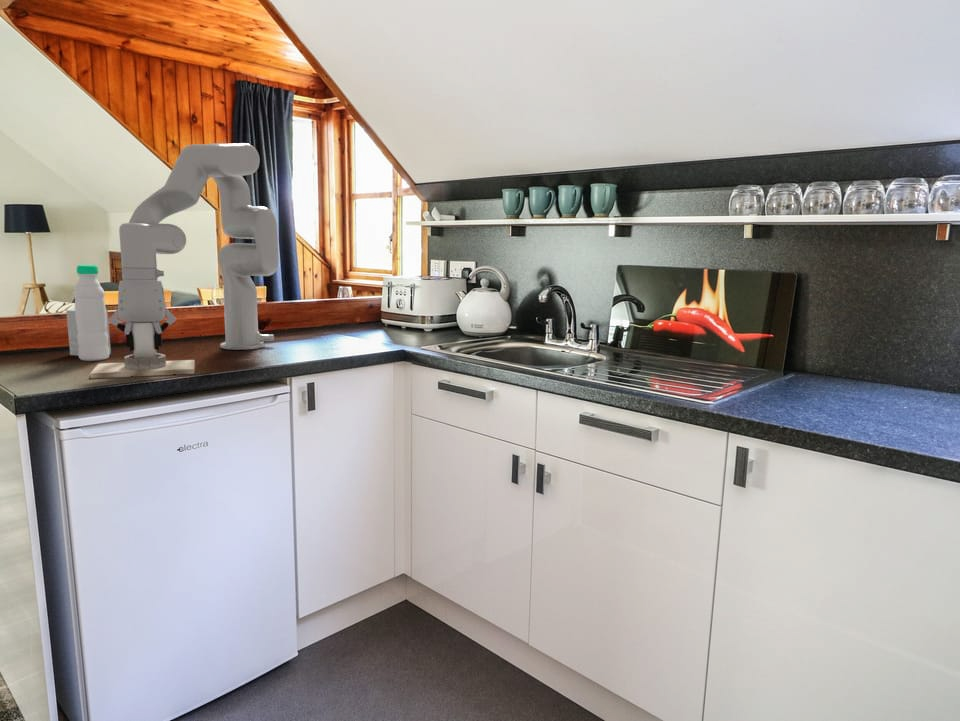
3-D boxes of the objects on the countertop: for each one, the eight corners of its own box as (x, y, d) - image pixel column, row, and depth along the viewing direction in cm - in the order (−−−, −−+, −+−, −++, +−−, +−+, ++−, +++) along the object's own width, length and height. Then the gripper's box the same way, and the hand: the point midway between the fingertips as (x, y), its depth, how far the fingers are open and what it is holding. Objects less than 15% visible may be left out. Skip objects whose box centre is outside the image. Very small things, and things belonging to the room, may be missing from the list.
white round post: (156, 363, 158) (153, 323, 156) (133, 364, 156) (130, 323, 154) (157, 360, 162) (155, 320, 161) (135, 361, 160) (132, 321, 159)
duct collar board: (194, 364, 169) (194, 350, 169) (194, 373, 157) (193, 358, 157) (99, 368, 161) (97, 353, 160) (90, 378, 149) (89, 362, 148)
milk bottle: (95, 361, 169) (88, 265, 164) (72, 360, 170) (64, 265, 166) (115, 357, 175) (108, 265, 171) (93, 356, 177) (86, 264, 172)
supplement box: (112, 353, 181) (108, 309, 179) (86, 357, 174) (82, 311, 172) (94, 351, 184) (91, 307, 182) (69, 355, 177) (65, 309, 175)
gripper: (179, 274, 162) (183, 346, 165) (101, 274, 155) (107, 348, 158) (178, 276, 155) (182, 350, 158) (97, 275, 148) (103, 353, 152)
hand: (144, 348), depth 158 cm, fingers closed on white round post, 4 cm apart
